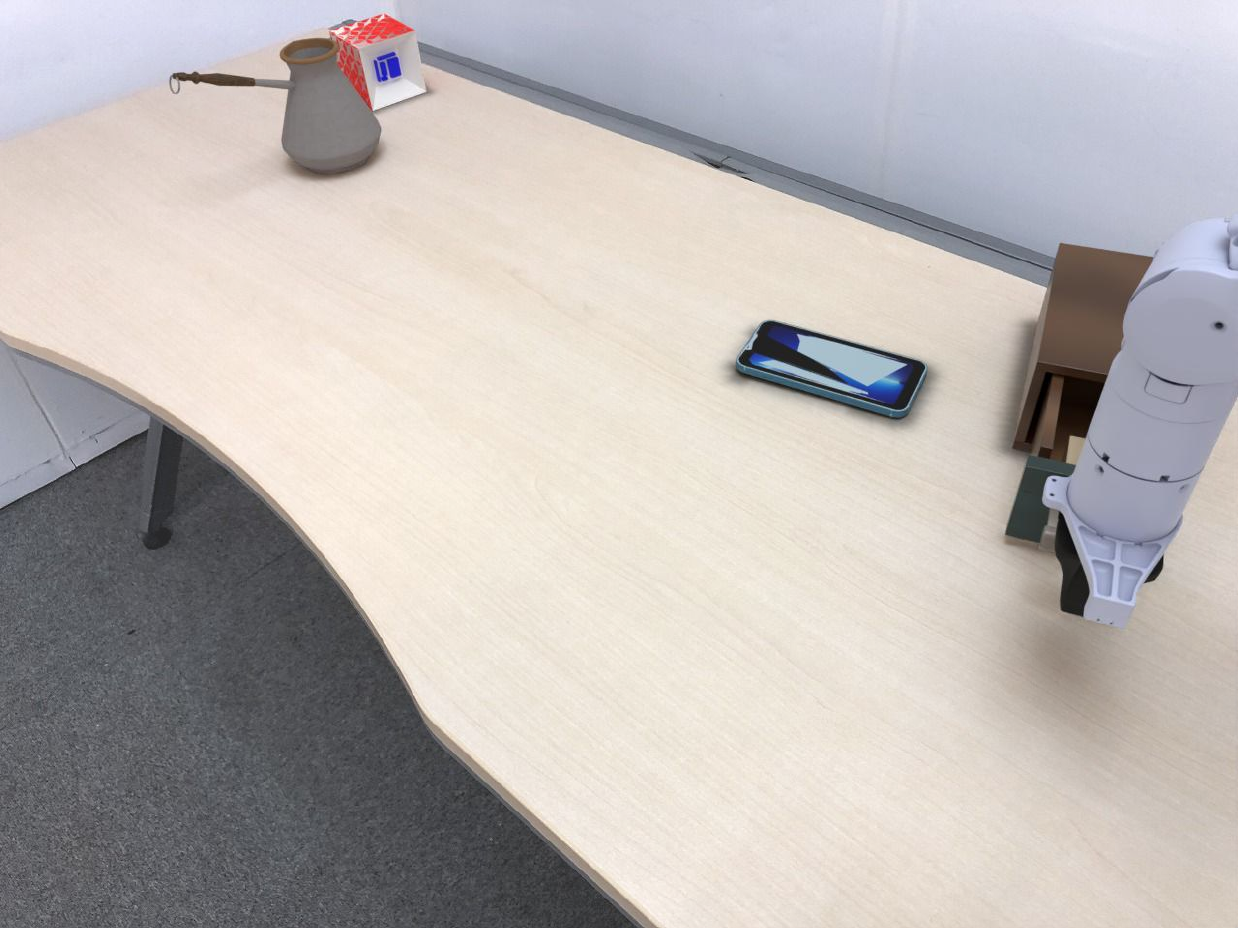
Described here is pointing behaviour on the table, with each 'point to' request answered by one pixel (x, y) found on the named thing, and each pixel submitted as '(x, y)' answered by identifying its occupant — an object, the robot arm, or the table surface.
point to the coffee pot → (314, 107)
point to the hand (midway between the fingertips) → (1079, 607)
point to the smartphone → (833, 367)
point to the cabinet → (1078, 323)
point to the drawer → (1051, 454)
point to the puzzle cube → (380, 60)
